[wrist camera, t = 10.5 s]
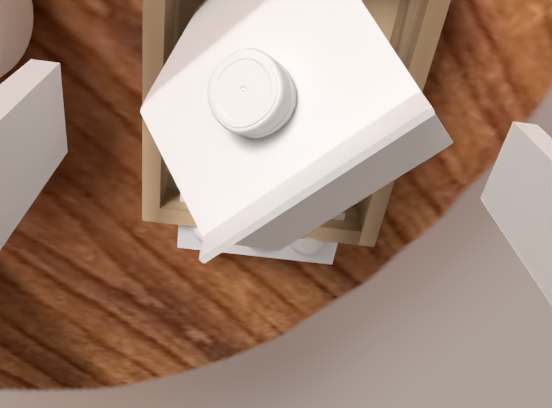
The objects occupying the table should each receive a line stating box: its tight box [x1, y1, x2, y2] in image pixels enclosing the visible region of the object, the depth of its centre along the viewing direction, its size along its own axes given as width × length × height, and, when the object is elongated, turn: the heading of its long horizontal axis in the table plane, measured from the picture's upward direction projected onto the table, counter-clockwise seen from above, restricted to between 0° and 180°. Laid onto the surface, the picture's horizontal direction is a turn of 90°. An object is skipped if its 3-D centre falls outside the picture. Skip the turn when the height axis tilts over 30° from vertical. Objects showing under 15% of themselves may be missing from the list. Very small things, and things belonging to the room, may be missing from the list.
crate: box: [142, 0, 451, 247], centre depth 28 cm, size 14×18×6 cm
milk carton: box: [140, 0, 453, 263], centre depth 21 cm, size 7×7×19 cm
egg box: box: [177, 193, 345, 265], centre depth 33 cm, size 10×4×5 cm, turn 82°
